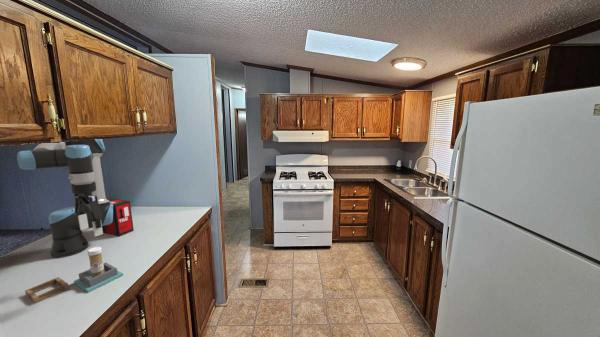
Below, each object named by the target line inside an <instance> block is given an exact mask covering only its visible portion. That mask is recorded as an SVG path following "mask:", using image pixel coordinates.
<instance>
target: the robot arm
mask: <svg viewBox="0 0 600 337" xmlns="http://www.w3.org/2000/svg"><path fill="white" fill-rule="evenodd" d="M103 152H106V147H105V144H104V141H103V138H102V139H92V140H78V141H69V142H60V143H41V144H39V143H38V145H36V146H35V147H34V149H32V150H29V149H28V150H27V149H26V150H20V151H18V152H17V154H16V159H17V165H18V166H19V168H20V169H22V170H24V171H25V170H28V171H29V170H40V169H41V170H42V169H53V168H68V175H69V176H68V177H67V179H69V180H70V184H71V185H70V186H71V192H72V194H74V206H68V207H64V208H61V209H60V208H59V209H57V210H55V211H52V212H51V213H50V214H49V215H48V224H49V228H50V234H51V238H52V242H51V247H50V251H49V253H50V254H49V255H50V256H51V258H54V259H55V258H65V257H70V256H73V255H76V254H79V253H81V252H83V251H85V250H86V249H88V248H89V241H88V240H87V238H86V236H84V234H83V230H88V229H92V230H93V235H94V237H98V236H101V235H103V234H104V233H103V230H102V226H104V225H108V224H111V223H112V222H113V204H110V201H109V199H107V196H106V190H105V184H104V176H103V170H102V165H101V157H102V156H103V155H104V153H103Z"/></svg>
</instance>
